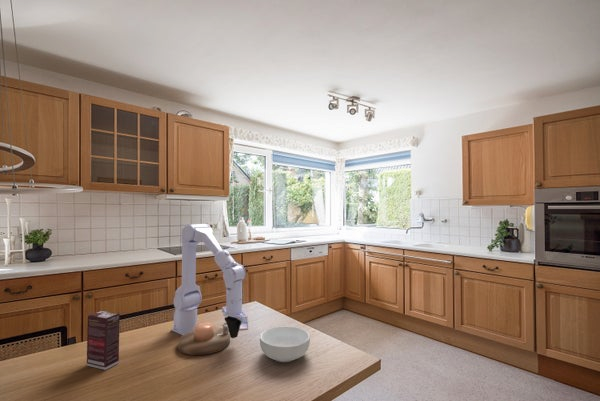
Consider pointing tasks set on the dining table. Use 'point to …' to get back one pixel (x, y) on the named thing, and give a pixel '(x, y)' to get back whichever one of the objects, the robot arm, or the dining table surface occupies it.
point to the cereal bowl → (284, 343)
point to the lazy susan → (204, 342)
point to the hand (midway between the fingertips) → (233, 337)
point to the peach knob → (203, 331)
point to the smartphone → (244, 325)
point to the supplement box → (103, 339)
